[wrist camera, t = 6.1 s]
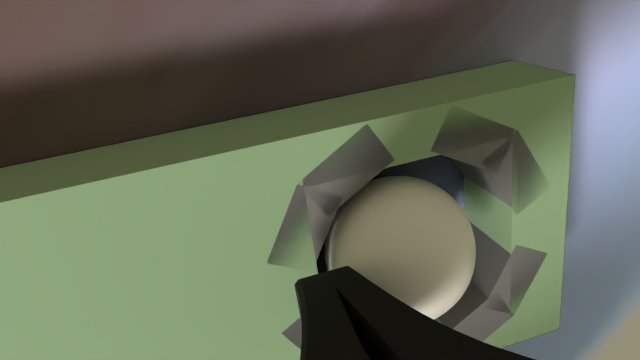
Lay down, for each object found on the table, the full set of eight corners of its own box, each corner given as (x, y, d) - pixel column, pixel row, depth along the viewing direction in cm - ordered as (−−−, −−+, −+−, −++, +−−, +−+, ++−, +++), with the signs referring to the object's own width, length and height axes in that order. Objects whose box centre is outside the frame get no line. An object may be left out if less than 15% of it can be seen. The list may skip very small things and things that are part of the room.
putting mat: (510, 285, 18) (559, 328, 16) (-123, 481, 14) (-177, 575, 12) (514, 60, 15) (575, 74, 13) (-302, 231, 11) (-421, 296, 9)
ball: (440, 378, 12) (373, 340, 16) (537, 249, 13) (451, 243, 17) (319, 259, 11) (280, 249, 15) (431, 133, 12) (367, 154, 16)
